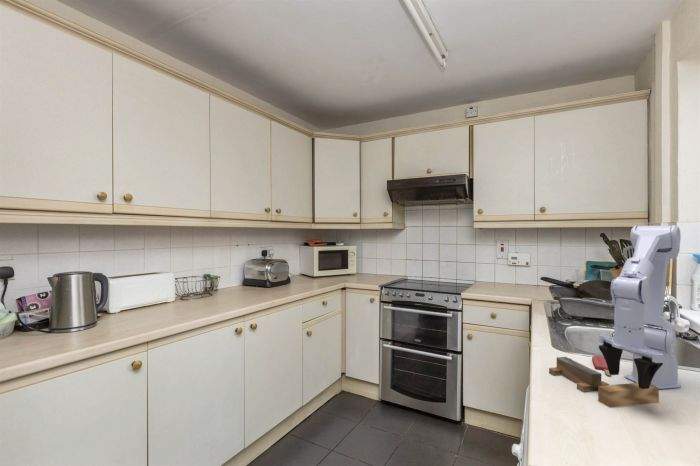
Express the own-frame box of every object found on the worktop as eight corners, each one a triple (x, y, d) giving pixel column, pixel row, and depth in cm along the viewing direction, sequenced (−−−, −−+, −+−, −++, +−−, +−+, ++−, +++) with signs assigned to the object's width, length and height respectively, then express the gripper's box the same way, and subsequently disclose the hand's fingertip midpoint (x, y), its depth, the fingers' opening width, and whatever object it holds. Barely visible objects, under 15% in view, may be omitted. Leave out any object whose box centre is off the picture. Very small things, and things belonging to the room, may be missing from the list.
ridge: (572, 371, 101) (572, 356, 101) (609, 389, 89) (609, 373, 89) (549, 372, 100) (549, 357, 100) (583, 392, 88) (583, 375, 88)
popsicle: (597, 370, 99) (590, 354, 112) (597, 376, 99) (590, 358, 112) (620, 374, 96) (610, 357, 109) (620, 380, 96) (610, 362, 109)
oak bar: (646, 397, 86) (646, 382, 86) (658, 403, 83) (658, 387, 83) (598, 401, 83) (598, 385, 83) (609, 408, 81) (609, 391, 80)
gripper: (589, 319, 89) (588, 369, 90) (645, 335, 75) (644, 396, 75) (612, 318, 91) (611, 368, 91) (671, 334, 76) (670, 394, 76)
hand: (628, 380), depth 83 cm, fingers open, 7 cm apart
